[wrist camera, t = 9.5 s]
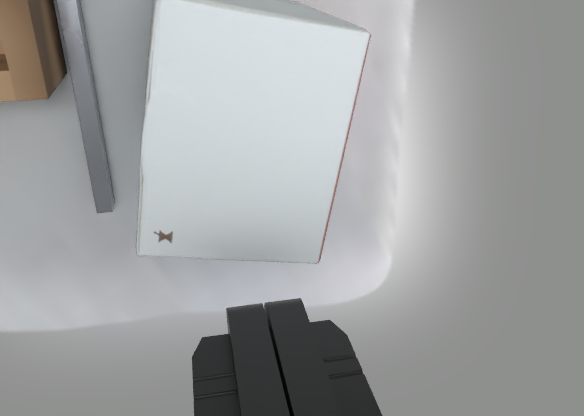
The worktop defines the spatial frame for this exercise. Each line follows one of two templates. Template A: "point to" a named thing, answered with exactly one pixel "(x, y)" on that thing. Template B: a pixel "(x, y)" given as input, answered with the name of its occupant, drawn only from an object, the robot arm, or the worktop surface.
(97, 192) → the backstop track
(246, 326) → the robot arm
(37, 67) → the socket block
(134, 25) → the worktop surface
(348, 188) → the worktop surface
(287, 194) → the small box
